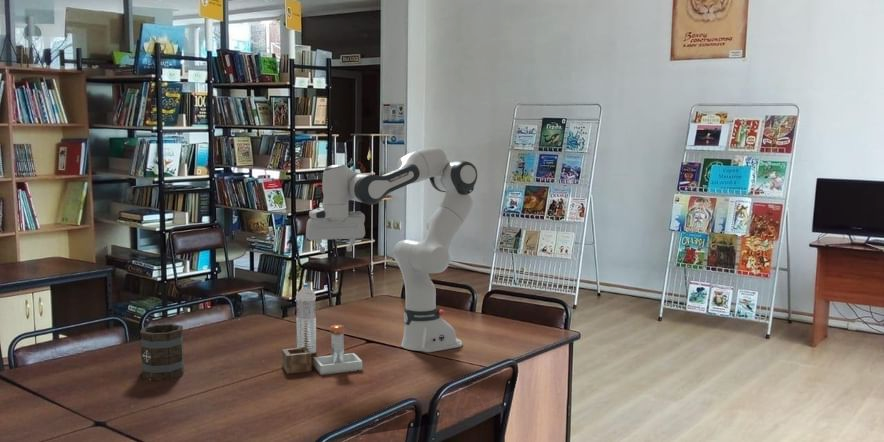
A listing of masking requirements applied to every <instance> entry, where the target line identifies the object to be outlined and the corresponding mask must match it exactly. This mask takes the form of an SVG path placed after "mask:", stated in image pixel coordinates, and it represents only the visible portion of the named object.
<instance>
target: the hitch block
mask: <svg viewBox="0 0 884 442" xmlns="http://www.w3.org/2000/svg"><path fill="white" fill-rule="evenodd" d="M281 357H282V359H281V360H282V361H281V362H282V363H281V364H282V366H281V367H282V368H283V370H284V372H285V373H286V374H287V375H288V374H297V373H306V372H311V371H312V355H311V353H310V351H309V350H308V349H307V348H306V347H300V348H297V347H291V348H283V349H281Z"/></svg>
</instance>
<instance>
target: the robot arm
mask: <svg viewBox="0 0 884 442" xmlns="http://www.w3.org/2000/svg"><path fill="white" fill-rule="evenodd" d="M446 154H447V153H445V151H444V150H443V149H442V148H440V147H437V146H434V147H433V146H432V147H425V148H421V149H417V150H414V151H411V152H409V153H407V154H405V155H403V156H402V157H400V158H399V160H398V162H397V166H396V168H397V169H395V170H392V171H390V172H387V173H386V174H383V175H377V174H366V173H365V174H364V173H359V172H356V171H354V170H352V169H351V168H349V167H348V166H347V165H345V164H341V163H340V164H339V163H338V164H331V165H328V166H327V167H326V168H324V170H323V172H322V173H323V174H322V181H321V182H322V183H321V184H322V187H321V188H322V189H321V190H322V194H323V199H322V206H321V207H317V208H315V209H313V210H310V211H309V212H308V216H309V218H308V220H307V222H306V228H305V229H306V230H305V237H306V239H308V240H309V241H316V244H317V245H318V247H319V253H321V254H325V253H326V247H324V246H323V245H322V243H323V240H325V241H327V240H342V239H345V240H347V239H349V242H350V243H349V245H346V252H352V251H353V246H354V244H355V242H356V239H363V238H364V237H365V236H366V229H365V221H366V216H365V214H364V213H363V212H362V211H360V210H357V211H352V210H351V211H349V202H350V201H354V202H360V203H363V204H366V205H371V206H372V205H373V206H374V205H376V204H378V203H380V202H381V201H382V200H383V199H384V198H386V196H387V195H388V194H390V193H393V192H394V191H397V190H398V189H402V188H404V187H405V186H408V185H411V184H415V183H419V182H422V181H426V180H427V179H429V182H430V185H431V186H432V188H434V189H435V190H436V191H438V192H440V193H444V198H443V200H442V202H441V203H440V204H439V205H438V207H437V208H436V209H435V210H434V212H433V213H432V215H431V216H430V218H429V219H428V220H427V222H426V230H427V233H426V236H425V237H424V239H423V240H420V239H419V240H417V239H412V238H409V239H402V240H400V241H398V242H396V244H395V245H394V247H393V251H392V255H393V258H394V261H395V263H396V264H397V265H398V267H399V270H400V272H401V276H402V280H403V283H404V288H405V290H404V291H405V292H404V294H405V307H404V312H403V320H404V321H403V322H404V331H403V335H402V341H401V344H400V347H401V348H403V349H405V350H409V351H417V352H418V351H419V352H424V353H433V352H437V351H438V352H439V351H444V350H449V349H456V348H461V347H462V346H463V342H462V340H460V339H459V338H457V334H456V330H455V329H454V326H453V325H451V324H450V323H448V322H447V321H446V320H445V319H443V318H442V317H441V316H445V315H446V314H445V313H446V311H445V310H443V309H440V308H438V307H436V306H437V305H436V301H437V300H436V298H437V297H436V296H437V293H436V291H437V289H436V286H435V284H434V282H433V281H432V279H431V277H430V274H431V275H432V274H441V273H443V272H445V270H447V268H448V267H449V263H450V260H451V259H450V253H449V248H450V245H451V242H452V239H454V237H455V235H456V234H457V232H458V231H459V230H460V227H462V225H463V224H464V222H465V221H466V219H467V217H468V215H469V214H470V211H471V209H472V207H473V203H474V201H473V198H472V197H471V195H470V194H471V193H472V192H473V191H474V189H475V185H476V183H477V181H478V180H477V179H478V169H477V167H476V166H475V165H474V164H473V163H472V162H469V161H466V160H458V161H449V160H448V158H447V155H446Z"/></svg>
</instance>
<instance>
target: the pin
mask: <svg viewBox="0 0 884 442" xmlns="http://www.w3.org/2000/svg"><path fill="white" fill-rule="evenodd" d="M345 327H346V326H345V325H343V324H334V325H331V326H329V333H331V337H330V338H331V355H332V364H335V363H344V354H345V345H344V343H345V341H344V340H345V339H344V336H345V335H344V332H345Z"/></svg>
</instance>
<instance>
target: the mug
mask: <svg viewBox="0 0 884 442" xmlns="http://www.w3.org/2000/svg"><path fill="white" fill-rule="evenodd" d="M183 329H184V326H183V325H180V324H175V323H161V324H160V323H159V324H152V325H149V326H144V327H142V328H141V330H140V331H139V333H140V334H139V335H140V340H141V341H140V342H141V350H140V353H141V354H140V355H141V356H140V357H141V364H142V366H141V367H142V375H141V378H142V377H143V378H142V379H144V378H147V379H146V380H148V379H151V380H157V381H162V380H161V379H170V380H173V379H176V378H178V377H179V378H180V377H182V376H184V373H185V365H184V341H183V331H184V330H183ZM151 380H150V381H151Z"/></svg>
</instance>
